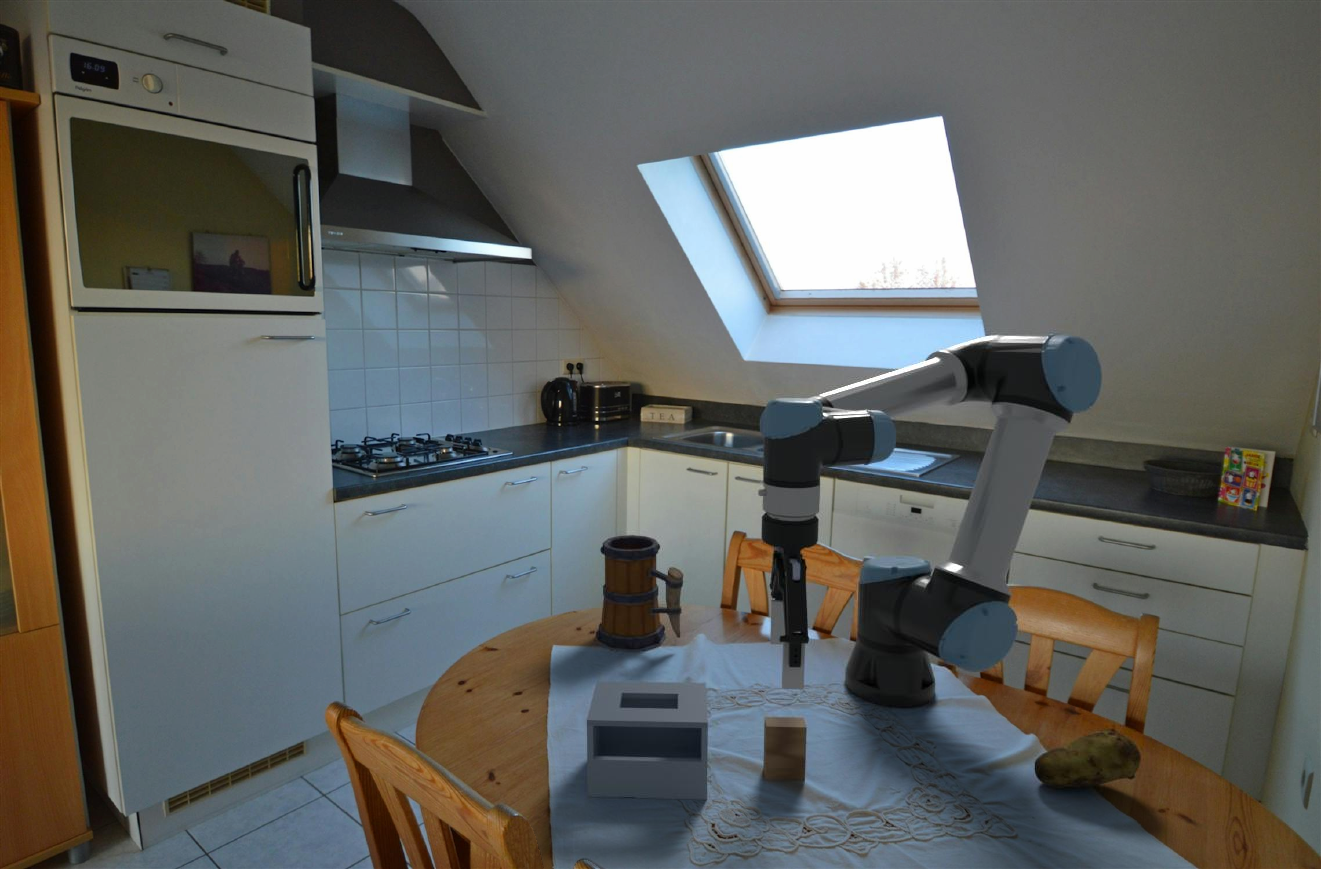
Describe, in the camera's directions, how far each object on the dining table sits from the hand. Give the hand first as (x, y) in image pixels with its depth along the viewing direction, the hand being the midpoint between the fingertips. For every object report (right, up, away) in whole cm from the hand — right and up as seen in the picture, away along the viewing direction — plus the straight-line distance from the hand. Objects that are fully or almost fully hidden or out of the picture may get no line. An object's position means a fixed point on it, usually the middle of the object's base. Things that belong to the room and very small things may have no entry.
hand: (785, 664), depth 102 cm
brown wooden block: (0, -16, +2) cm, 17 cm away
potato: (+41, -17, 0) cm, 44 cm away
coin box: (-19, -16, +2) cm, 25 cm away
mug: (-21, -10, +48) cm, 53 cm away
